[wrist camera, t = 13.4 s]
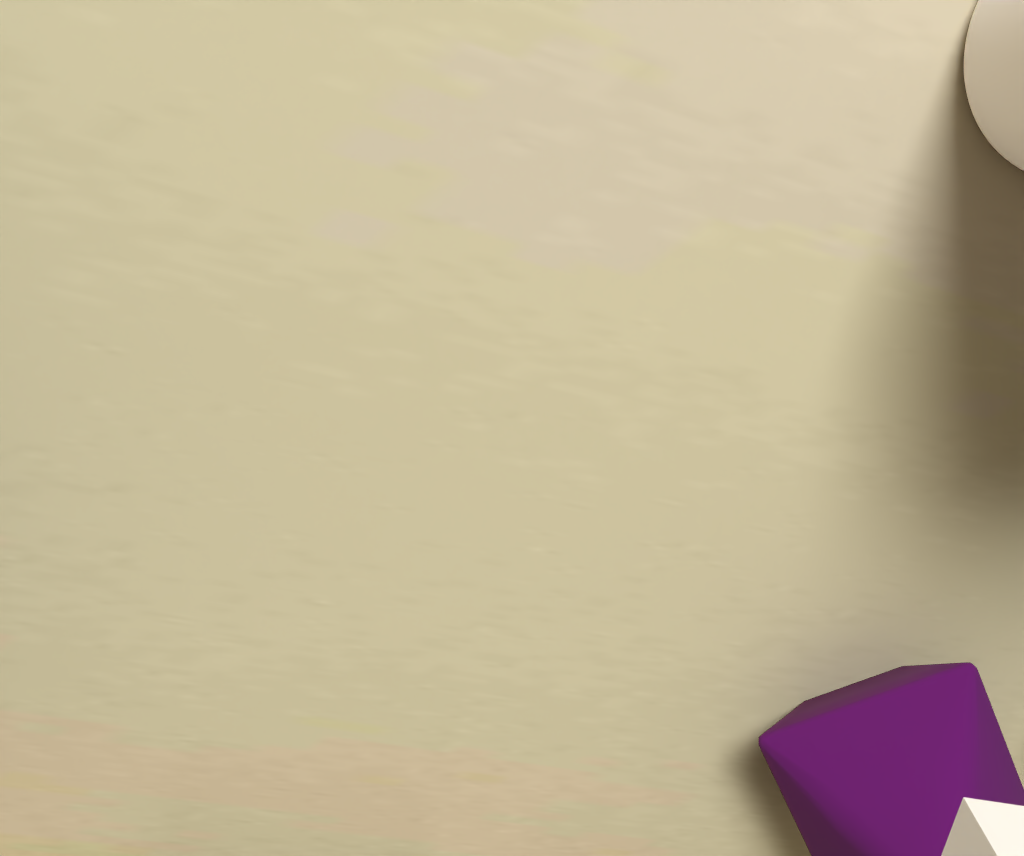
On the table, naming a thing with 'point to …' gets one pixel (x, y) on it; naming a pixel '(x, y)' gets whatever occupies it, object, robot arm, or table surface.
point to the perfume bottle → (891, 761)
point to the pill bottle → (997, 75)
